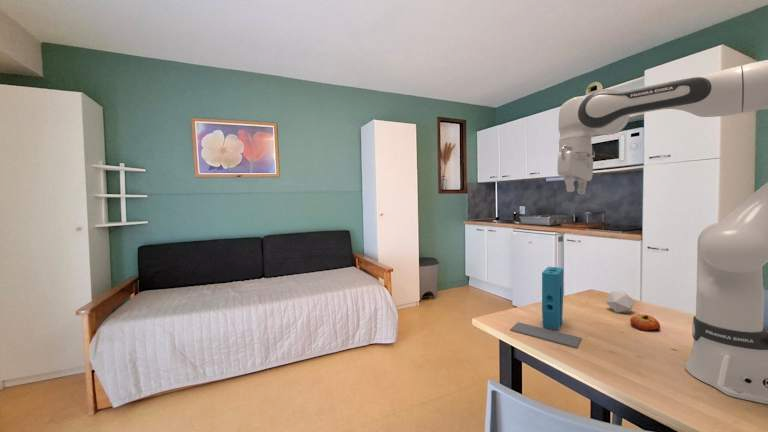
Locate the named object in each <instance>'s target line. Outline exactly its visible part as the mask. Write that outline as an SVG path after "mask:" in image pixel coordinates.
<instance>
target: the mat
mask: <svg viewBox="0 0 768 432" xmlns="http://www.w3.org/2000/svg"><path fill="white" fill-rule="evenodd" d="M509 331H510V332H514V333H517V334H520V335H521V334H522V335H525V336H529V337H532V338H536V339H541V340H544V341H547V342H551V343H555V344H558V345H562V346H566V347H570V348H573V349H578V347H579V345H580V343H581V341H582V338H583V337H580V336H577V335H572V334H570V333H569V334H568V333H565V332H560V331H557V330H553V329H548V328H544V327H539V326H536V325H535V326H534V325H532V324H531V325H530V324H526V323H522V322H520V321H519V322H516V323H515V324H514V325H513V326H512V327H511V328H510V329H509Z"/></svg>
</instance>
